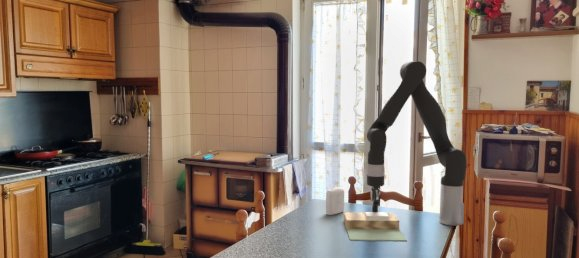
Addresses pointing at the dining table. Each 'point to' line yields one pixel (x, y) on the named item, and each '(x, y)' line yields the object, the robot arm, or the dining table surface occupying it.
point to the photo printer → (335, 201)
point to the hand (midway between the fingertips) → (374, 213)
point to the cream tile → (376, 216)
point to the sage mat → (375, 235)
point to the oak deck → (359, 221)
